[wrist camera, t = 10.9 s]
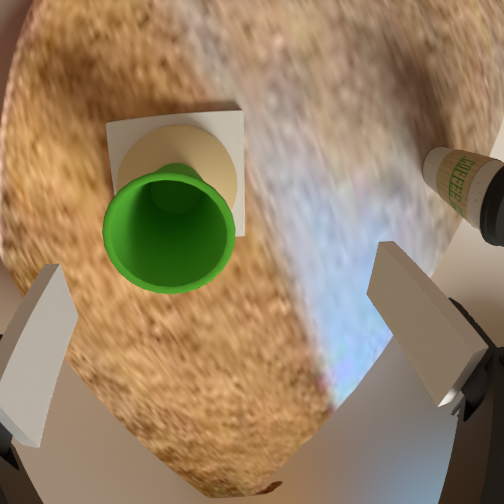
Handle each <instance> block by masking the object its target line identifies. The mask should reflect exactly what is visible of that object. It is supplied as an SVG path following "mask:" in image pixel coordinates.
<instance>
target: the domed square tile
mask: <svg viewBox="0 0 504 504" xmlns="http://www.w3.org/2000/svg"><path fill="white" fill-rule="evenodd" d="M106 133H107V142H108V151H109V159H110V167H111V174H112V181H113V188H114V194H115V195H116V194H117V192H118V191H119V190H120V189H121V188H123V187H124V186H125V185H126V184H128V183H129V182H130V181H132V180H134V179H136V178H138V177H141V176H143V175H145V174H148V173H153V172H155V171H156V170H158V169H159V168H161V167H162V166H165V165H167V164H171V163H182V164H185V165H188V166H190V167H191V168H193V169H194V170H195V171H196V172H197V173H198V174H199V175H200V176H201V178H202V179H203V180H204V182H206V183H208V184H209V185H211V186H212V187H214V188H215V189H216V191H217V192H218V193H219V194H220V195H221V196H222V197H223V198H224V199H225V201H226V203H227V205H228V207H229V209H230V210H231V212H232V215H233V219H234V224H235V228H236V232H235V237H238V236H245V198H244V111H243V110H223V111H204V112H189V113H177V114H166V115H157V116H148V117H140V118H132V119H125V120H118V121H112V122H108V123H106Z"/></svg>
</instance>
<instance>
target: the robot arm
mask: <svg viewBox="0 0 504 504" xmlns="http://www.w3.org/2000/svg"><path fill="white" fill-rule="evenodd" d="M367 296H368V297H369V299H370V300H371V302H372V303H373V305H374V306H375V308H376V309H377V311H378V312H379V314H380V315H381V317H382V318H383V320H384V321H385V323H386V324H387V326H388V327H389V329H390V330H391V332H392V333H393V335H394V336H395V338H396V339H397V341H398V343H399V344H400V346H401V348H402V349H403V351H404V352H405V354H406V355H407V357H408V359H409V360H410V362H411V364H412V365H413V367H414V368H415V370H416V372H417V373H418V375H419V376H420V378H421V380H422V382H423V383H424V385H425V387H426V388H427V390H428V392H429V393H430V395H431V397H432V399H433V400H434V402H435V404H436V406H437V407H439V406H441V405H444V404H446V403H448V402H451V401H453V400H454V398H455V397H456V396H457V394H458V393H459V392H460V390H461V391H462V393H463V394H464V396H463V398H462V399H461V400H460V402H459V403H458V404H457V406H456V407H455V408H454V409H453V411H452V414H451V415H454V414H455V413H456V412H457V410H458V409H459V408H460V409H459V414H458V415H457V416H458V422H457V428H456V434H455V439H454V444H453V449H452V454H451V458H450V462H449V466H448V471H447V474H446V478H445V482H444V486H443V489H442V493H441V496H440V499H439V502H438V504H504V347H499V348H497V347H496V346H495V344H494V343H493V342H492V341H491V339H490V338H489V337H488V336H487V335H486V333H485V332H484V331H483V330H482V329H481V327H480V326H479V325H478V324H477V323H475V320H474V319H473V318H472V317H471V316H470V315H469V313H468V312H467V311H466V310H465V309H464V308H463V307H462V305H461V304H459V303H458V302H456V301H455V300H453V299H451V298H447V297H446V296H445V295H444V293H443V292H442V291H441V290H440V289H439V288H438V287H437V286H436V285H435V283H433V281H432V280H431V279H430V278H429V277H428V276H427V275H426V274H425V273H424V272H423V271H422V270H421V269H420V268H419V266H418V265H417V264H416V263H415V262H414V261H413V260H412V259H411V258H410V257H409V256H408V255H407V254H406V253H405V252H404V251H403V250H402V249H401V248H400V247H399V246H398V245H397V244H396V243H395V242H394V241H387V242H379V244H378V248H377V253H376V257H375V262H374V266H373V270H372V274H371V278H370V282H369V286H368V290H367ZM78 317H79V316H78V313H77V311H76V308H75V305H74V303H73V300H72V297H71V295H70V292H69V289H68V286H67V283H66V280H65V277H64V274H63V271H62V268H61V265H60V264H46V265H44V267H43V268H42V270H41V271H40V273H39V274H38V276H37V278H36V279H35V281H34V282H33V284H32V286H31V287H30V289H29V290H28V292H27V294H26V295H25V297H24V299H23V300H22V302H21V304H20V306H19V307H18V309H17V311H16V313H15V314H14V316H13V318H12V320H11V322H10V323H9V325H8V327H7V329H6V331H5V333H4V335H3V334H2V335H1V334H0V504H43V502H42V500H41V498H40V497H39V495H38V493H37V491H36V490H35V488H34V486H33V484H32V482H31V480H30V478H29V476H28V474H27V472H26V471H25V468H24V466H23V464H22V462H21V460H20V458H19V455H18V453H17V451H16V449H15V447H14V446H13V445H12V443H11V440H12V436H14V437H15V438H16V439H17V440H18V441H19V442H20V443H21V444H23V445H27V446H31V447H36V448H39V447H40V442H41V438H42V434H43V430H44V426H45V421H46V417H47V414H48V410H49V406H50V402H51V399H52V395H53V392H54V388H55V384H56V381H57V378H58V375H59V371H60V368H61V365H62V362H63V359H64V356H65V353H66V350H67V347H68V344H69V341H70V339H71V336H72V333H73V330H74V328H75V325H76V322H77V319H78Z"/></svg>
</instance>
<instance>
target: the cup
mask: <svg viewBox="0 0 504 504" xmlns="http://www.w3.org/2000/svg"><path fill="white" fill-rule="evenodd" d="M235 232H236V228H235V224H234V219H233V215H232V212H231V210H230V209H229V207H228V205H227V203H226V201H225V199H224V198H223V197H222V196H221V195H220V194H219V193H218V192H217V191H216V189H215V188H214V187H212V186H211V185H209V184H208V183H206V182H204V180H203V179H202V178H201V176H200V175H199V174H198V173H197V172H196V171H195V170H194V169H193V168H191V167H190V166H188V165H185V164H182V163H171V164H167V165H165V166H162V167H161V168H159V169H158V170H156V171H155V172H153V173H148V174H145V175H143V176H141V177H138V178H136V179H134V180H132V181H130V182H129V183H128V184H126V185H125V186H124V187H123V188H121V189H120V190H119V191H118V192H117V194H116V195H115V196H114V198H113V199H112V200H111V202H110V203H109V206H108V208H107V211H106V213H105V216H104V222H103V231H102V233H103V239H104V246H105V249H106V251H107V253H108V256H109V258H110V260H111V262H112V263H113V265H114V266H115V267H116V269H117V270H118V271H119V273H120V274H122V275H123V276H124V277H125V278H126V279H127V280H129V281H130V282H131V283H133V284H135V285H137V286H139V287H141V288H143V289H145V290H149V291H152V292H156V293H164V294H177V293H185V292H189V291H192V290H194V289H197V288H200V287H202V286H203V285H205V284H207V283H208V282H210V281H212V280H213V279H214V278H215V277H216V276H217V275H218V274H219V273H220V272H221V271H222V270H223V269H224V267H225V265H226V264H227V262H228V261H229V259H230V258H231V254H232V251H233V248H234V245H235Z"/></svg>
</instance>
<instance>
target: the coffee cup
mask: <svg viewBox="0 0 504 504" xmlns="http://www.w3.org/2000/svg"><path fill="white" fill-rule="evenodd" d="M423 178H424V180H425V182H426V184H427V185H428V186H429V187H430V188H431V189H433V190H434V191H435V192H436V193H438V194H439V195H440V197H441V198H442V199H443V200H444V201H445V202H447V203H448V204H449V205H450V206H451V207H452V208H453V209H455V210H456V211H457V212H458V213H459V214H460V215H461V216H462V217H463V218H464V219H466V220H467V221H468V222H469V223H470V224H471V225H472V226H473V227H475V228H477V229H479V231H480V232H481V234H482V237H483V239H484V240H485V241H486V242H488V243H489V244H491V245H494V246H503V247H504V162H502V161H500V160H498V159H494V158H491V157H487V156H484V155H480V154H476V153H472V152H467V151H463V150H455V149H450V148H446V147H436V148H434V149H433V150H431V151H430V152H429V153H428V155H427V157H426V158H425V161H424V164H423Z"/></svg>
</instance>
